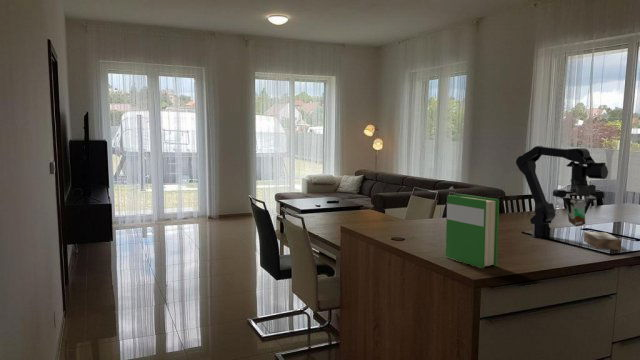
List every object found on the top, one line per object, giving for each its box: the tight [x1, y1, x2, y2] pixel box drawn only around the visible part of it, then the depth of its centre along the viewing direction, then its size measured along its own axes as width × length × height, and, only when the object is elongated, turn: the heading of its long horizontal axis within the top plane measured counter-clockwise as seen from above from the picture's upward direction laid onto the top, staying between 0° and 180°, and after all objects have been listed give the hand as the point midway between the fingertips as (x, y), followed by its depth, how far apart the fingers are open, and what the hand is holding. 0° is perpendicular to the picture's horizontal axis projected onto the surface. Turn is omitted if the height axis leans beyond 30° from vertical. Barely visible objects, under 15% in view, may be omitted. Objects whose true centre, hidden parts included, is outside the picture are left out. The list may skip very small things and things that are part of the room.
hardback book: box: [445, 194, 500, 269], centre depth 165 cm, size 18×7×24 cm, turn 28°
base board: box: [583, 231, 622, 251], centre depth 192 cm, size 9×15×4 cm, turn 167°
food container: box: [566, 198, 586, 227], centre depth 195 cm, size 12×6×10 cm, turn 167°
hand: (577, 213), depth 195 cm, fingers closed on food container, 6 cm apart
